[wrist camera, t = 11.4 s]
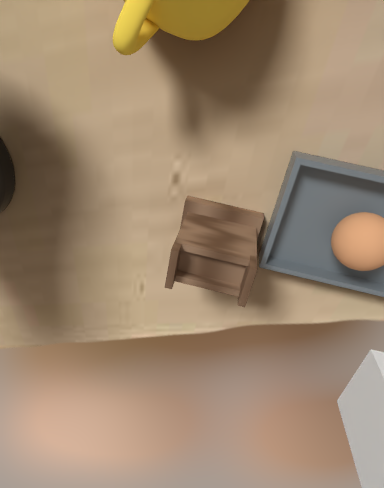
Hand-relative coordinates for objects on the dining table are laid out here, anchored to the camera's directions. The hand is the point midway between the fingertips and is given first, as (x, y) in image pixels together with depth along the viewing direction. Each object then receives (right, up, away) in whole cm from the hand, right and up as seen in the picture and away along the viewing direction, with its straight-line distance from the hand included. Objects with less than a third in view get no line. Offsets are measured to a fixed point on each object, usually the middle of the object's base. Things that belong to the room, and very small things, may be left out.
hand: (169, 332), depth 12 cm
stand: (+4, +5, +29) cm, 29 cm away
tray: (+19, +5, +26) cm, 32 cm away
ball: (+19, +5, +25) cm, 32 cm away
